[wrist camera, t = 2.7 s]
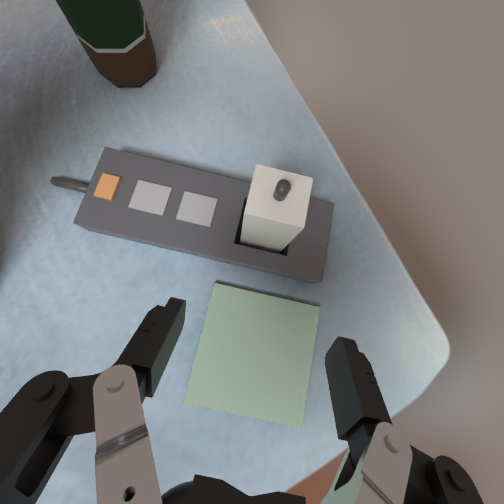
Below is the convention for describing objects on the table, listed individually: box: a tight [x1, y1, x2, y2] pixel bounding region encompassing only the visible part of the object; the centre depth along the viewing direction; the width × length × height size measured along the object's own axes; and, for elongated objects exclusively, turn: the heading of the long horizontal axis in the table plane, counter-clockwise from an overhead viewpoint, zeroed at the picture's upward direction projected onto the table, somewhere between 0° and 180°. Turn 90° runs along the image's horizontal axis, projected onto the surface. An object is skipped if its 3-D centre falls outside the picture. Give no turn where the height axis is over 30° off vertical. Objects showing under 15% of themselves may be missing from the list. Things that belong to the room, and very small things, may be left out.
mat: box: [183, 283, 320, 429], centre depth 24 cm, size 12×12×1 cm
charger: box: [240, 164, 313, 254], centre depth 22 cm, size 5×4×12 cm
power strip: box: [50, 147, 334, 283], centre depth 26 cm, size 32×9×3 cm, turn 77°
